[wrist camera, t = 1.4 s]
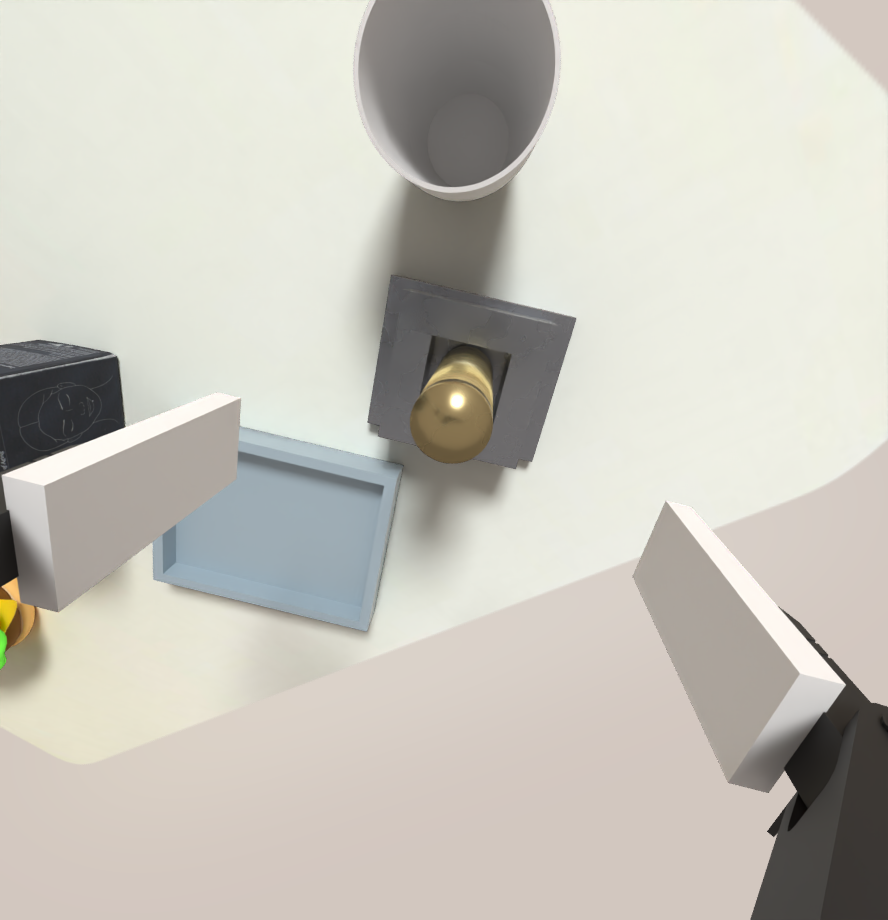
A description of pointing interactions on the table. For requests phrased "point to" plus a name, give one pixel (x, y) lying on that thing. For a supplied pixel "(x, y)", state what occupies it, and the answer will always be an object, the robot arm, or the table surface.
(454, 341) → the block
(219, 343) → the table surface
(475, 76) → the cup
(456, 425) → the pin
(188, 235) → the table surface
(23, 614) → the hamburger
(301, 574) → the tray
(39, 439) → the box
